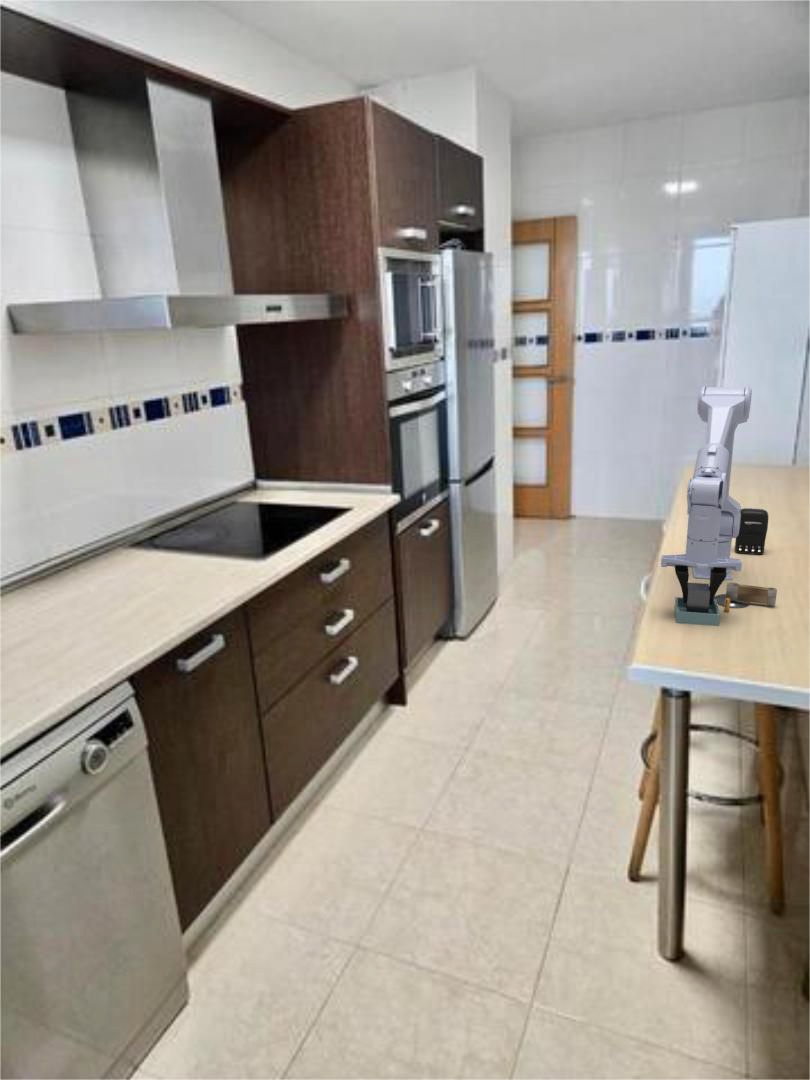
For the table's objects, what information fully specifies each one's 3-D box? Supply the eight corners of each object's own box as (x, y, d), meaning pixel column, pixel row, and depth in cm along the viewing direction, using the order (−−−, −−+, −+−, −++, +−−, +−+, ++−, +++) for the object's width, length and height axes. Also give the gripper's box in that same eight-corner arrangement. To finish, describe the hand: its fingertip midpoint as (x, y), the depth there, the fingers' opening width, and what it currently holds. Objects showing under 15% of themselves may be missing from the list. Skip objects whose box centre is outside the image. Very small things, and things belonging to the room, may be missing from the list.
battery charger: (733, 554, 173) (738, 510, 170) (733, 550, 177) (737, 506, 173) (765, 557, 171) (770, 512, 167) (764, 552, 174) (769, 508, 170)
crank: (725, 600, 146) (726, 585, 145) (726, 595, 148) (727, 581, 147) (775, 606, 141) (777, 591, 140) (775, 602, 143) (777, 587, 142)
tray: (674, 607, 145) (675, 596, 144) (715, 610, 143) (716, 599, 142) (676, 622, 138) (676, 611, 137) (718, 626, 136) (720, 615, 135)
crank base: (711, 594, 150) (713, 581, 150) (747, 597, 148) (748, 584, 147) (716, 612, 142) (717, 598, 141) (754, 615, 140) (755, 601, 139)
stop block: (685, 605, 142) (687, 582, 141) (706, 606, 141) (708, 583, 140) (686, 613, 139) (688, 589, 137) (708, 614, 138) (710, 591, 136)
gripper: (663, 541, 134) (659, 606, 138) (746, 545, 129) (739, 612, 134) (662, 530, 140) (658, 593, 144) (741, 534, 136) (735, 598, 140)
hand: (697, 601), depth 139 cm, fingers closed on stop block, 4 cm apart
